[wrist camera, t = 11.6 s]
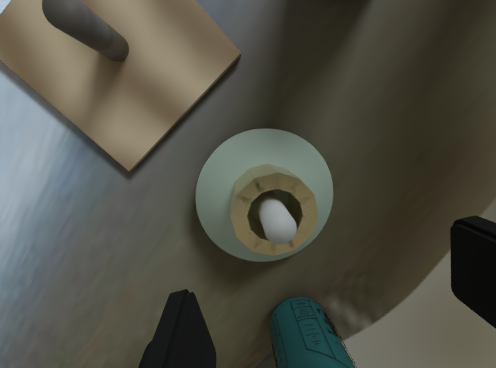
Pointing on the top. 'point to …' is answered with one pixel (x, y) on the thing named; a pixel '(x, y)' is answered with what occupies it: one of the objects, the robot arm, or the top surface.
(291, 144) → the sage hub
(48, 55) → the oak stand
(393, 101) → the top surface
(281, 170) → the brass ring
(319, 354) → the beverage bottle
